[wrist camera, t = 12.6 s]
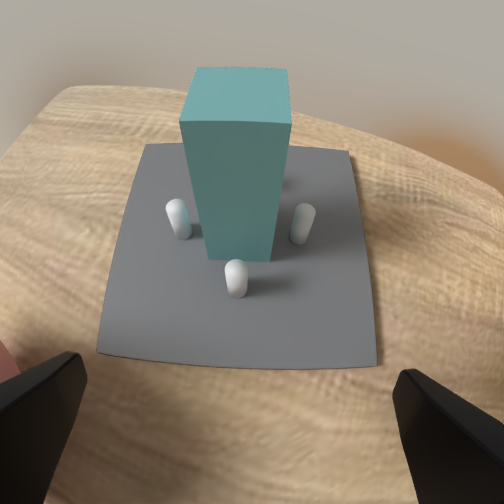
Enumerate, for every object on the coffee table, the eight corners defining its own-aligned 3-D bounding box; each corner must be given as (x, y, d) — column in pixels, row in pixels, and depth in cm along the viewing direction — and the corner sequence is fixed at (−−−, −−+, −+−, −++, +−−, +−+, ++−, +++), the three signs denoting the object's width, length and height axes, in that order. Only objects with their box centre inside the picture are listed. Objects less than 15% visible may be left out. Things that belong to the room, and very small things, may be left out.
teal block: (269, 262, 23) (291, 123, 12) (208, 259, 23) (179, 120, 12) (270, 211, 25) (286, 69, 14) (214, 208, 25) (197, 67, 14)
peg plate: (372, 366, 21) (398, 358, 17) (100, 353, 20) (72, 342, 17) (346, 156, 30) (357, 125, 26) (147, 149, 29) (137, 118, 26)
